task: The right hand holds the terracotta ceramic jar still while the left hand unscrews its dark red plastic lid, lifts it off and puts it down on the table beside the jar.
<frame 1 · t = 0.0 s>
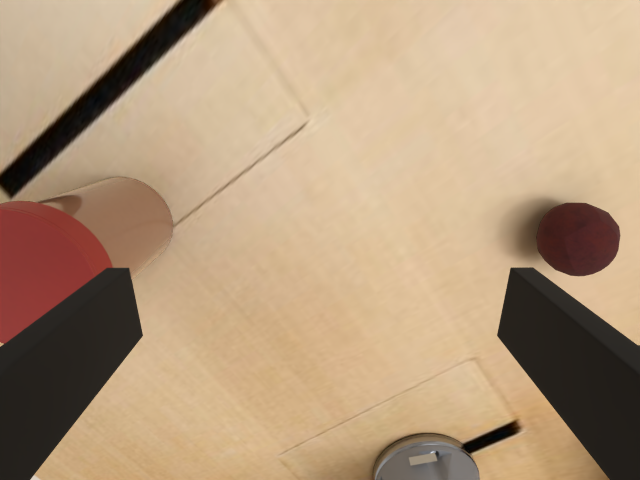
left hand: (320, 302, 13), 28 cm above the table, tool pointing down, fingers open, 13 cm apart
lid: (22, 282, 26), point 15 cm above the table, screwed on, not yet turned
jar: (128, 221, 41), on the table
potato: (554, 227, 41), on the table
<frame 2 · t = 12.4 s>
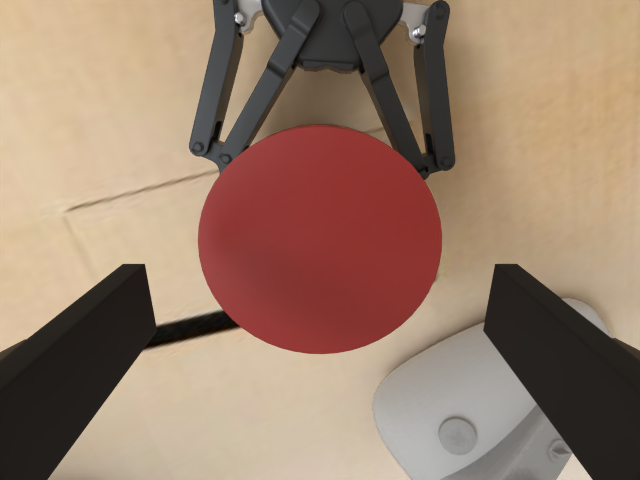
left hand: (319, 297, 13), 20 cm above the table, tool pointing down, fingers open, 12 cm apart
right hand: (316, 257, 27), fingers closed on jar, 10 cm apart
lid: (320, 250, 17), point 15 cm above the table, screwed on, not yet turned
projector: (482, 367, 38), on the table
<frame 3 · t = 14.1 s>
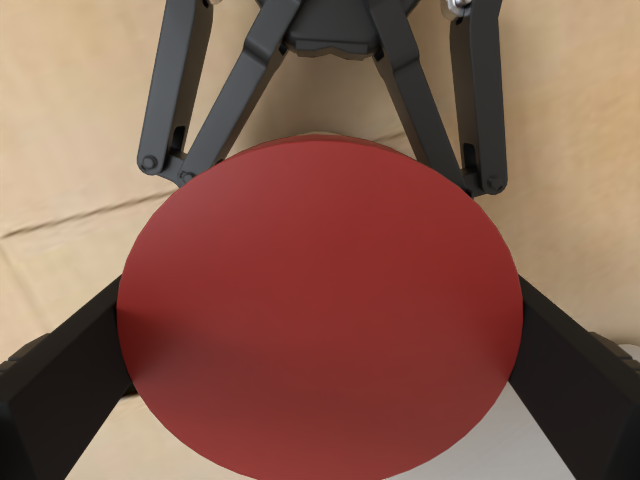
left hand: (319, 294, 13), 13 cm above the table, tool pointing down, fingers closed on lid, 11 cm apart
lid: (319, 340, 11), point 15 cm above the table, screwed on, not yet turned, touching left hand
projector: (516, 422, 32), on the table
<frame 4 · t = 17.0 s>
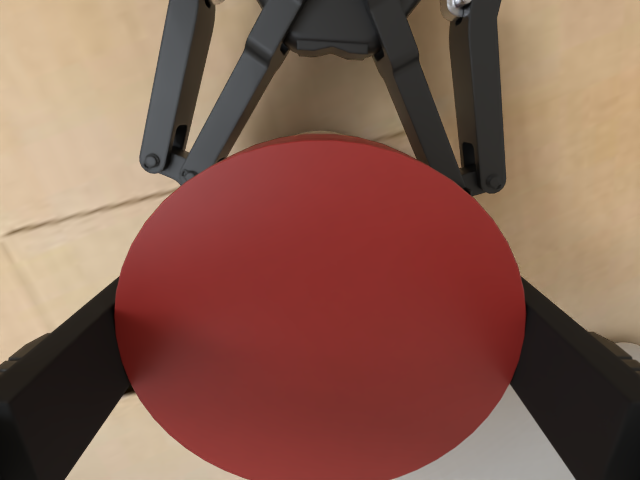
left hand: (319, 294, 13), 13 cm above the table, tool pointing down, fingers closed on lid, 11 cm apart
lid: (320, 341, 10), point 16 cm above the table, turned 93° so far, risen 0.3 cm, still on its thread, touching left hand
projector: (515, 420, 32), on the table
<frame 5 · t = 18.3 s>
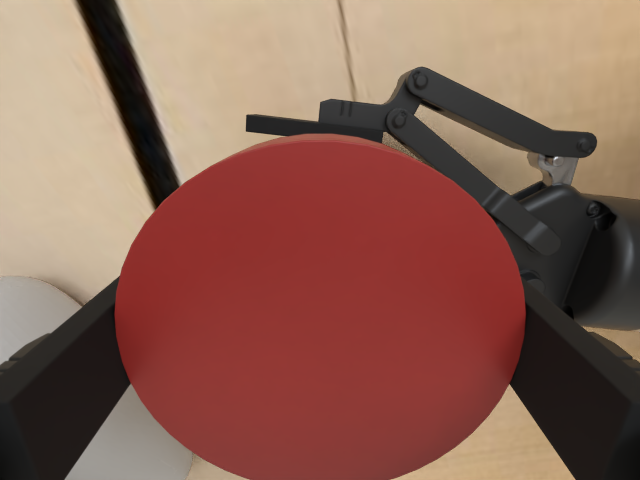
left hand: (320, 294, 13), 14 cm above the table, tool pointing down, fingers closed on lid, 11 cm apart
lid: (320, 341, 10), point 17 cm above the table, off its thread, touching left hand
projector: (88, 385, 32), on the table
when the left hand's fingers open (0 cm above the table, at t = 24.6 s): lid drops 1 cm, point 2 cm above the table.
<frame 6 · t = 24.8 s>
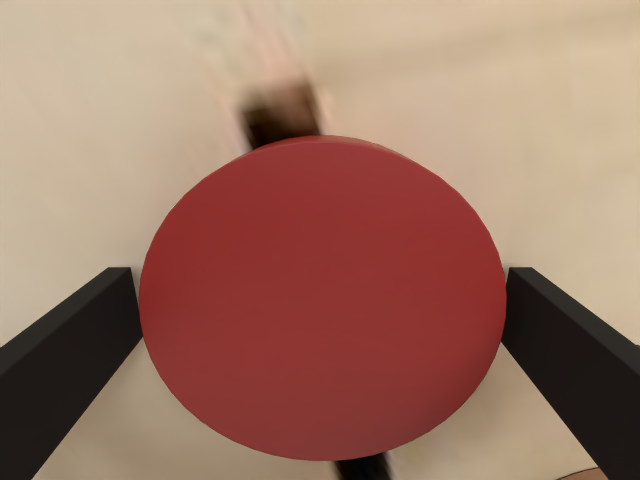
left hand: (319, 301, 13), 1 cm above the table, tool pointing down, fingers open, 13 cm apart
lid: (322, 322, 12), point 2 cm above the table, off its thread
when the right hand's fingers open (6 cm above the table, at t = 25.6 s): jar stays where it is, on the table.
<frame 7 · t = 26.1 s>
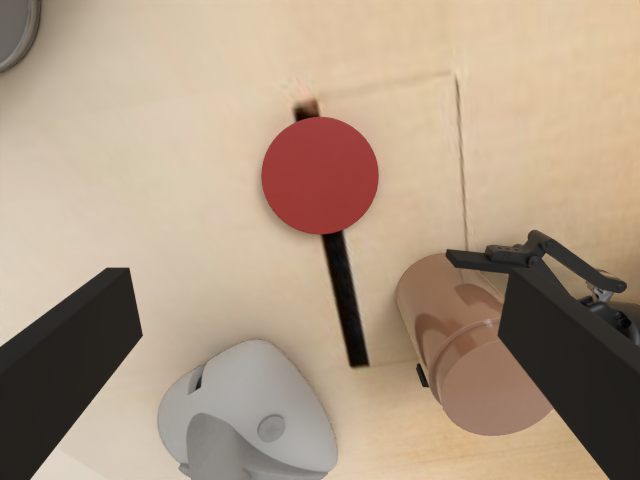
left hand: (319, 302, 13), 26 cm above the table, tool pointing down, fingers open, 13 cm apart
lid: (320, 178, 35), point 2 cm above the table, off its thread
jar: (439, 293, 42), on the table
projector: (269, 403, 47), on the table
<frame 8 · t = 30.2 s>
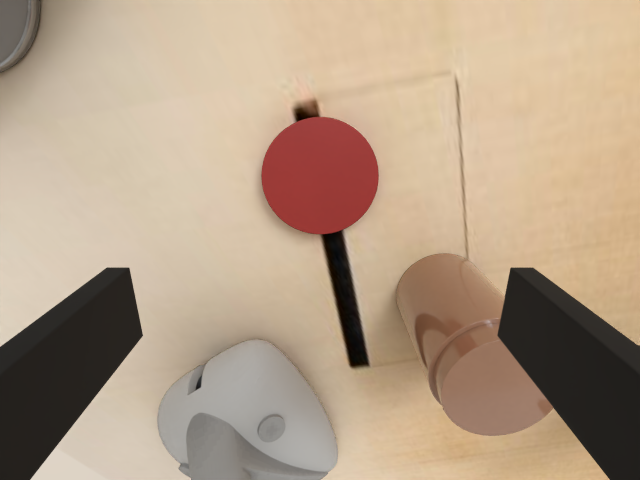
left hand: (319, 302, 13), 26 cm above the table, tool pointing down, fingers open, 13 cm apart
lid: (320, 178, 35), point 2 cm above the table, off its thread
jar: (439, 293, 42), on the table
projector: (269, 403, 47), on the table
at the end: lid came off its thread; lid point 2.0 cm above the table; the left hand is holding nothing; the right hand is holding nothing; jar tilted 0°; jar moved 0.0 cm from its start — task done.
